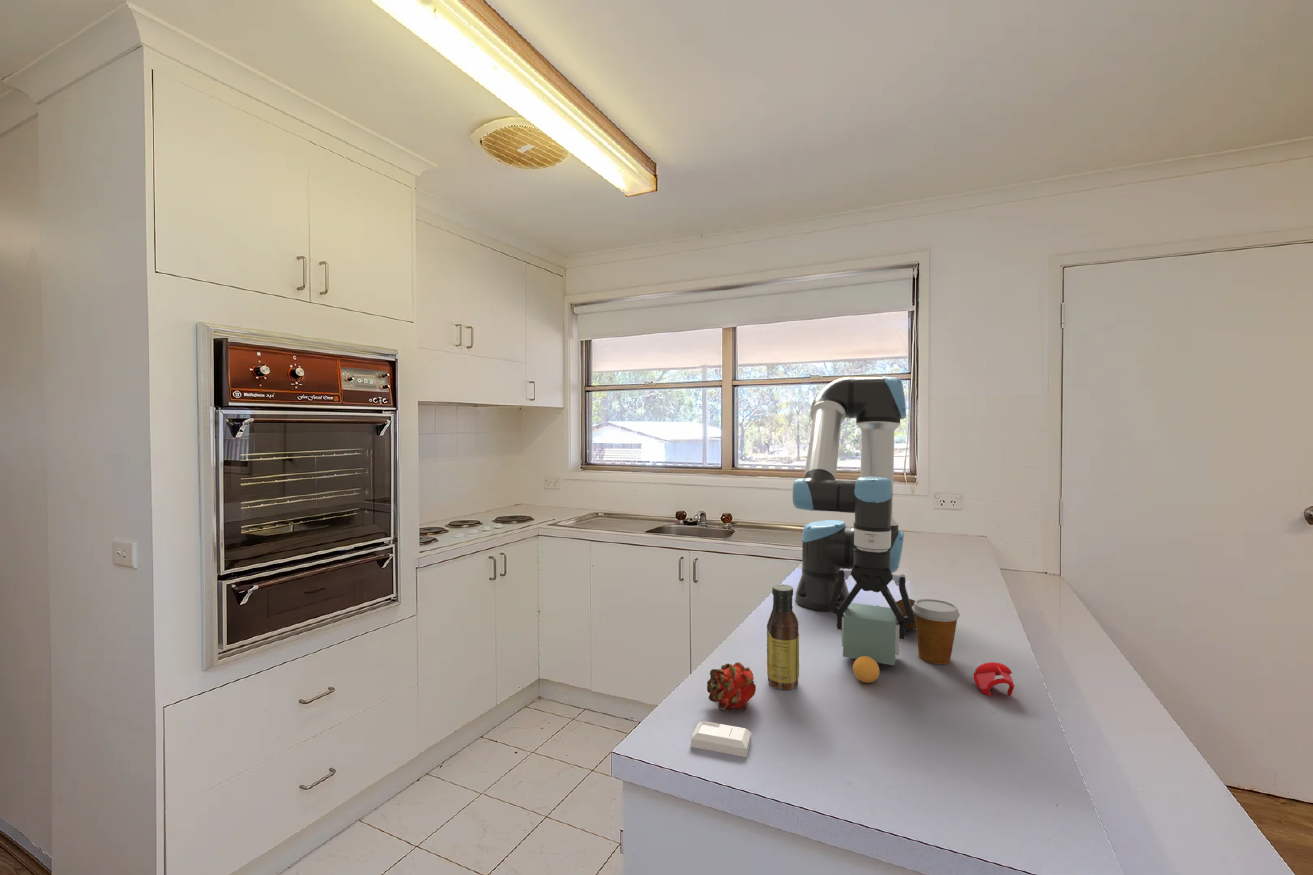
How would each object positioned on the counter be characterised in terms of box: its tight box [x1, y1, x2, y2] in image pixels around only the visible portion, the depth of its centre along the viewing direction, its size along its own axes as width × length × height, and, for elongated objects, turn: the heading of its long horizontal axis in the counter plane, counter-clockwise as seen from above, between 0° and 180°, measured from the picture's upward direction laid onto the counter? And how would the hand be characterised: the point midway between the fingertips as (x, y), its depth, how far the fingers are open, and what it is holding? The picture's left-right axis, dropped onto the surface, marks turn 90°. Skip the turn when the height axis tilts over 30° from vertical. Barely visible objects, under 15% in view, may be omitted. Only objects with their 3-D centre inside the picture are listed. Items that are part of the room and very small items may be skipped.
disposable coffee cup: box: [912, 598, 961, 665], centre depth 127 cm, size 10×10×12 cm
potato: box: [896, 598, 916, 631], centre depth 143 cm, size 7×10×8 cm
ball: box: [852, 656, 880, 684], centre depth 116 cm, size 5×5×5 cm
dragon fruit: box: [706, 661, 757, 712], centre depth 106 cm, size 8×8×12 cm
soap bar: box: [690, 720, 752, 758], centre depth 94 cm, size 5×9×3 cm, turn 72°
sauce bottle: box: [766, 584, 800, 691], centre depth 114 cm, size 7×6×20 cm
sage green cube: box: [842, 602, 896, 666], centre depth 125 cm, size 10×10×9 cm
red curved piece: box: [972, 662, 1015, 697], centre depth 112 cm, size 8×6×6 cm
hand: (870, 648), depth 126 cm, fingers closed on sage green cube, 10 cm apart
